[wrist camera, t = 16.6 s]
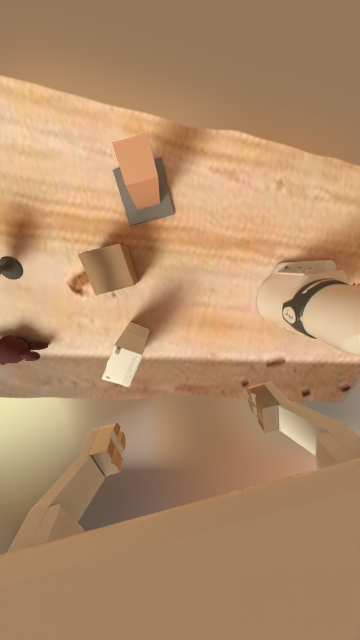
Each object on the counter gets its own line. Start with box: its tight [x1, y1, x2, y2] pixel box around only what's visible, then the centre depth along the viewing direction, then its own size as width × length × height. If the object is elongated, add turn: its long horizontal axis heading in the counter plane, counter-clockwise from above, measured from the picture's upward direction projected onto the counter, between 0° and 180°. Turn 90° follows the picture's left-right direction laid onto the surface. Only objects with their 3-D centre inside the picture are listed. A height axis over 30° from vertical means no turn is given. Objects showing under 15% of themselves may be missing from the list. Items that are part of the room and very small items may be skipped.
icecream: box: [0, 335, 48, 365], centre depth 41 cm, size 7×7×15 cm
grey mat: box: [113, 158, 174, 226], centre depth 35 cm, size 10×10×1 cm
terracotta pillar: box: [112, 133, 160, 210], centre depth 29 cm, size 5×5×12 cm
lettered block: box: [78, 243, 139, 295], centre depth 36 cm, size 8×8×8 cm
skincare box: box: [102, 322, 150, 387], centre depth 39 cm, size 8×6×15 cm
